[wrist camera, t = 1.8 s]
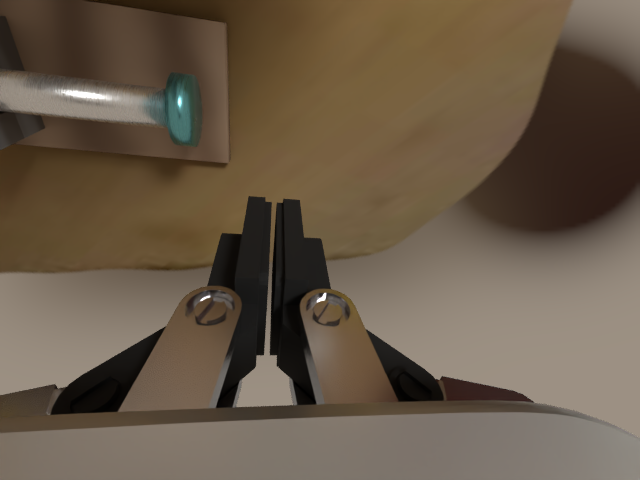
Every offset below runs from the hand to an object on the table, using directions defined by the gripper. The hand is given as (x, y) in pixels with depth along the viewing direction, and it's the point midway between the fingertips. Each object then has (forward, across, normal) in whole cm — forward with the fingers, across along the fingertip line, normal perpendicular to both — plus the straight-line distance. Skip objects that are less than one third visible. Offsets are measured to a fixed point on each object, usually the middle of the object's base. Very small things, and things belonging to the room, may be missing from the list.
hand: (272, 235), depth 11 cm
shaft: (+16, +16, 0) cm, 22 cm away
